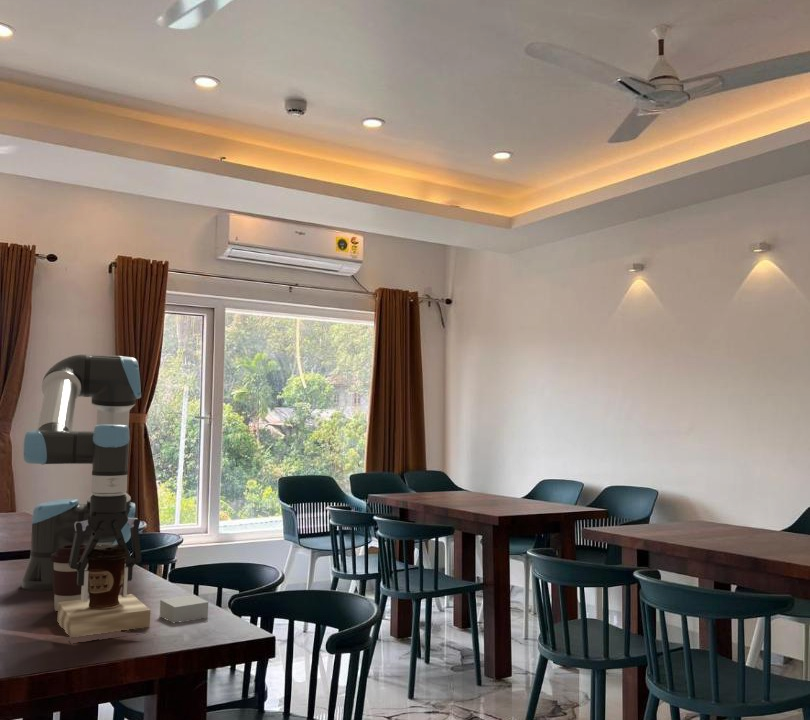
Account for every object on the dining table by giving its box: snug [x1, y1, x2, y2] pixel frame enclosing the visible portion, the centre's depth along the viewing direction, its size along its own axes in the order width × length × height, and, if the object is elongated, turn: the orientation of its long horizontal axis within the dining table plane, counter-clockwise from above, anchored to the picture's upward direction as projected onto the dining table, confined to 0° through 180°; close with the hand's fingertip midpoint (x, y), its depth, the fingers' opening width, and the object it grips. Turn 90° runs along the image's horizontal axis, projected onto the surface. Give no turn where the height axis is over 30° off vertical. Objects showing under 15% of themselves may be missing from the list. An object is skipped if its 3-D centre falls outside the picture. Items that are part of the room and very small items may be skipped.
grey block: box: [159, 594, 209, 623], centre depth 175 cm, size 8×8×5 cm
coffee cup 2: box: [87, 544, 128, 609], centre depth 168 cm, size 9×8×13 cm
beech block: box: [56, 593, 151, 638], centre depth 168 cm, size 16×16×5 cm
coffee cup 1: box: [51, 544, 90, 612], centre depth 184 cm, size 10×10×15 cm
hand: (104, 598), depth 169 cm, fingers closed on coffee cup 2, 8 cm apart
